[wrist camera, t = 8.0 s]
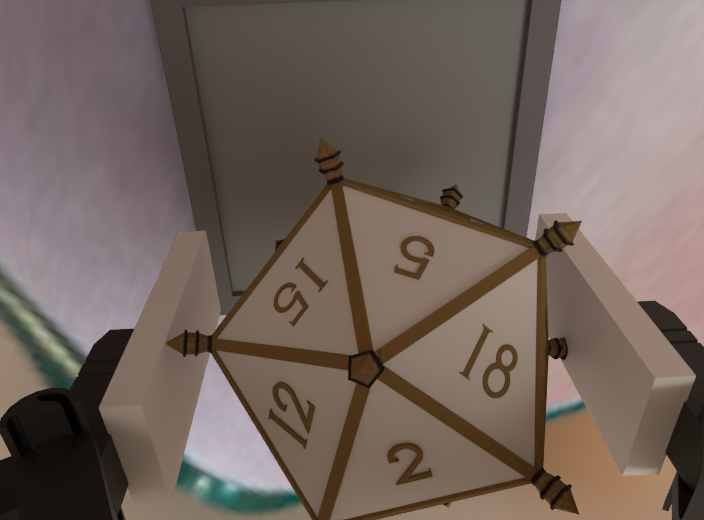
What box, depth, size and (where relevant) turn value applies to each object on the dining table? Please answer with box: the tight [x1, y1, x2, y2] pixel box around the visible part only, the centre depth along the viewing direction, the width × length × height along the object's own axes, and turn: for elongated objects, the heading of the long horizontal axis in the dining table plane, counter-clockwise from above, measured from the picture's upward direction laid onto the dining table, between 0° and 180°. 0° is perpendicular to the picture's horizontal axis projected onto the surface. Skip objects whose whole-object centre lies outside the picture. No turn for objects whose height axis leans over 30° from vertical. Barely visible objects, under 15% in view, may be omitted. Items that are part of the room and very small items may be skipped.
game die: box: [166, 138, 582, 520], centre depth 13 cm, size 9×8×10 cm
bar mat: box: [151, 0, 561, 315], centre depth 23 cm, size 14×14×1 cm
